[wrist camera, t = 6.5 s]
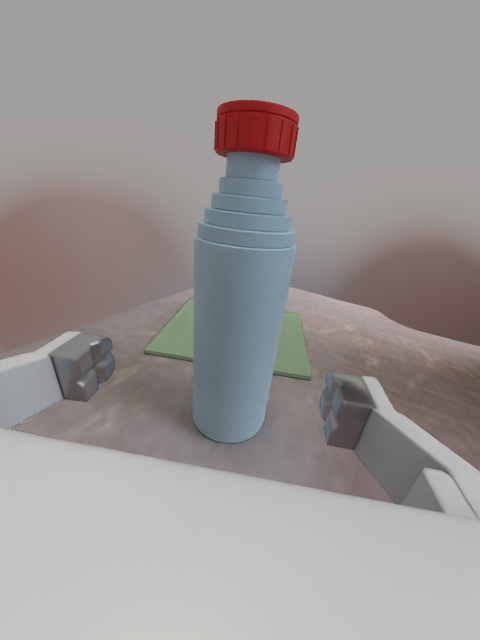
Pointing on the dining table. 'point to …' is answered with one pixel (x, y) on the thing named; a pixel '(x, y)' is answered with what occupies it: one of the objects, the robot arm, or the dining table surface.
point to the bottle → (240, 297)
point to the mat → (179, 343)
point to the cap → (256, 129)
